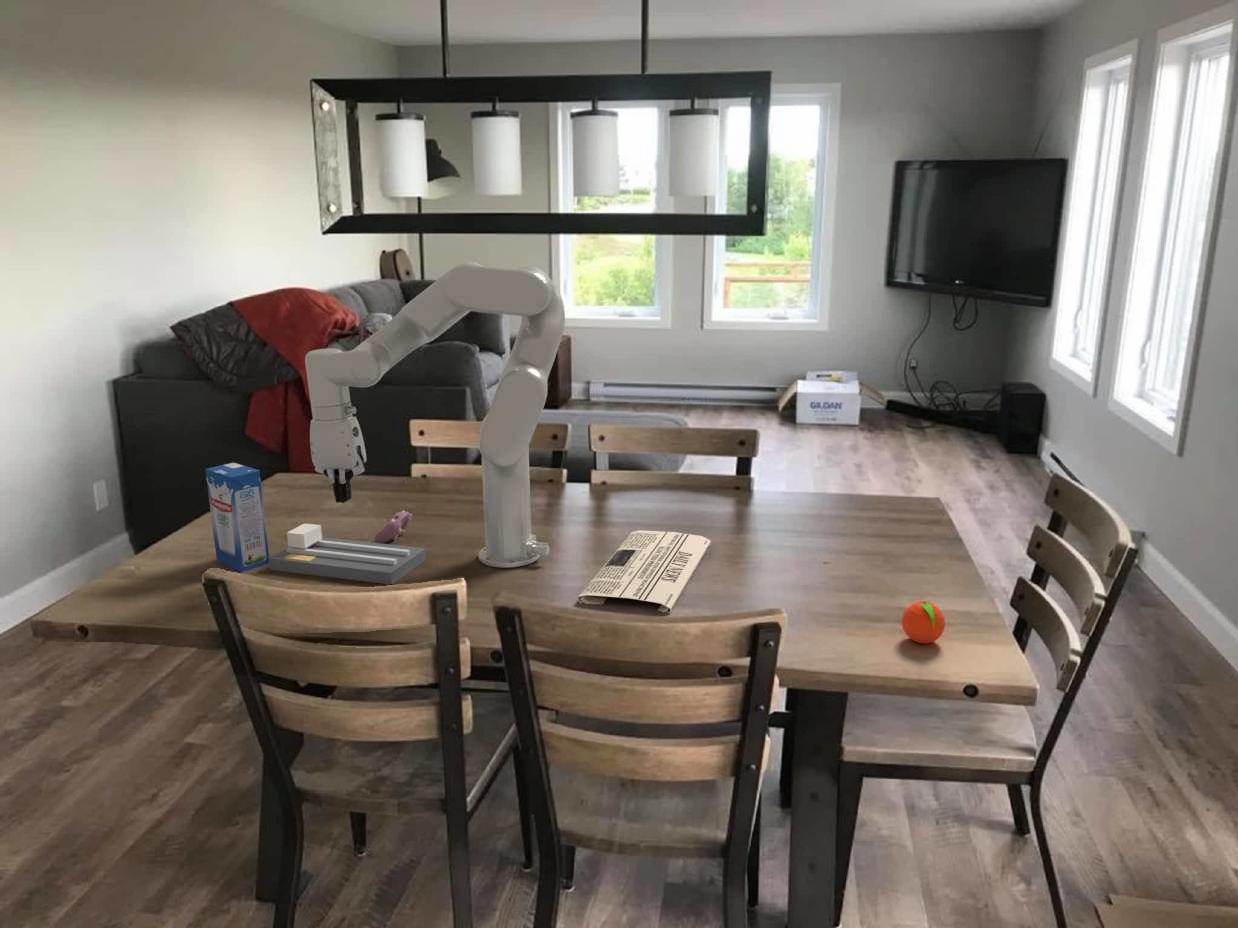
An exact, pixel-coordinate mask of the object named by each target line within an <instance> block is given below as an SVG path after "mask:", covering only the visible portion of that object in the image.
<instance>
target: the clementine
mask: <svg viewBox="0 0 1238 928" xmlns="http://www.w3.org/2000/svg"><path fill="white" fill-rule="evenodd" d="M901 625H902V628H903V632H904V633H905V635H907V637H908V638H909V639H910V640H912V641H914V642H916V643H918V644H930V643H933V642H936V641H937V640H938V639H939V638H940V637H941V636H942V634H943V632H944V631H945V628H946V620H945V615H944V614H943V612H942V610H940V608H939V607H938V606H937V605H935V604H934V603H932V602H929V601H916V602H914V603H912V604H910V605H908V607H906V609H905V610H904V612H903V614H902V618H901Z"/></svg>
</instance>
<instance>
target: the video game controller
mask: <svg viewBox="0 0 1238 928" xmlns="http://www.w3.org/2000/svg"><path fill="white" fill-rule="evenodd" d="M413 516H414V515H413V513H411V512H409V511H405V510H402V511H397V512H395V513H394V514H393V515H392V517H391V519H390V520H389V521H388V523H387V524H386V525H385V526H384V527H383V528H382V529H381V530H380V531H378V532H377V533H376V535H375V536H374V541H375V542H374V543H380V544H386V543H387V542H388V541H390V540H392V541H396V540H397V539H398V537H399V536H400V537H401V536H402V535H403V534H404V533H405V532H406V528H407V527H408V526H409V525H410V523H411V522H412V519H413Z"/></svg>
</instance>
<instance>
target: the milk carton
mask: <svg viewBox="0 0 1238 928" xmlns="http://www.w3.org/2000/svg"><path fill="white" fill-rule="evenodd" d="M204 470H205V477H206V478H205V479H206V486H207V493H208V501H209V507H210V517H211V525H212V532H213V540H214V548H215V556H216V557H215V558H216V562H217V561H219V562H218V563H220V562H221V563H220V564H222V563H223V564H222V565H224V566H227V567H229V568H231V569H234V570H236V571H238V572H240V573H243V572H247V571H250V570H253V569H257V568H259V567H264V566H266V565H269V558H270V552H269V544H268V543H269V542H268V537H267V534H268V533H267V526H266V519H265V508H264V507H265V506H264V499H263V492H262V490H263V489H262V483H261V473H260V469H256V468H254V467H249V466H247V465H243V464H240V463H236V462H230V463H225V464H221V465H217V466H214V467H213V466H212V467H208V468H205V469H204Z"/></svg>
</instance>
